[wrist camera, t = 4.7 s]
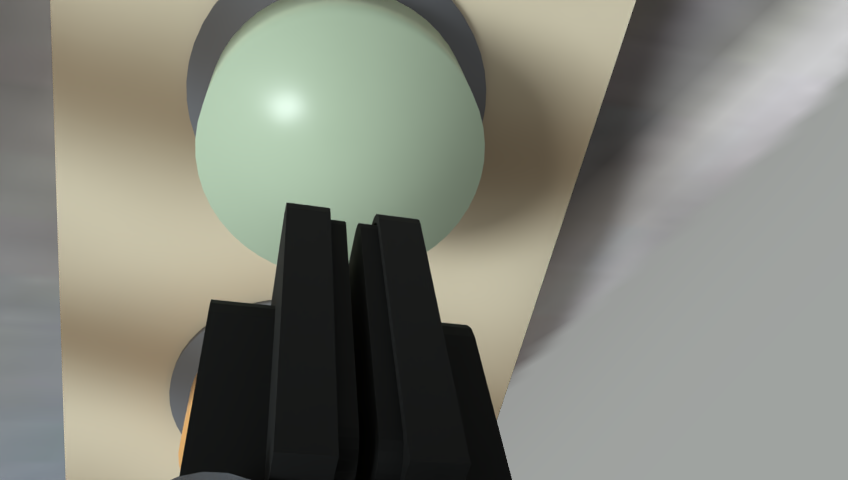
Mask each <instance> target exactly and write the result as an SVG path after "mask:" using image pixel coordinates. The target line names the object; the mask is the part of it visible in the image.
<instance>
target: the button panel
mask: <svg viewBox="0 0 848 480" xmlns="http://www.w3.org/2000/svg"><path fill="white" fill-rule="evenodd" d="M276 1H278V0H50V7H51V38H52V69H53V100H54V131H55V162H56V193H57V224H58V255H59V286H60V317H61V347H62V378H63V409H64V440H65V471H66V480H172V479H174V478H176V477H179V475H180V467H179V457H178V452H179V446H180V440H181V435H182V430H183V425H184V420H185V415H186V411H187V406H188V401H189V396H190V391H191V387H192V384H193V381H194V378H195V376H196V374H197V372H198V367H199V361H200V356H201V350H202V344H203V339H204V333H205V327H206V322H207V316H208V311H209V305H210V301H211V299H212V300H222V301H232V302H242V303H252V304H262V305H271V300H272V294H273V287H274V280H275V273H276V266H277V265H275V264H273V263H271V262H269V261H268V260H266V259H264V258H262V257H260V256H258V255H257V254H256V253H254V252H253V251H251V250H250V249H248V248H247V247H246V246H244V245H243V244H242V243H241V242H240V241H239V240H238V239H236V238H235V237H234V236H233V235H232V234H231V233H230V232H229V231H228V229H227V228H226V227H225V226H224V225H223V224H222V222H221V221H220V220H219V218H218V217H217V215H216V214H215V212H214V211H213V209H212V207H211V206H210V204H209V202H208V199H207V197H206V195H205V193H204V191H203V188H202V185H201V181H200V178H199V175H198V170H197V163H196V157H195V138H196V130H197V123H198V119H199V116H200V112H201V109H202V105H203V102H204V99H205V96H206V93H207V90H208V87H209V84H210V81H211V78H212V75H213V72H214V69H215V67H216V64H217V62H218V60H219V58H220V56H221V54H222V52H223V50H224V49H225V47H226V46H227V44H228V42H229V41H230V39H231V38H232V37H233V36H234V34H235V33H236V32H237V31H238V30H239V29H240V28H241V27H242V25H243V24H244V23H246V22H247V21H248V20H249V19H250V18H252V17H253V16H254V15H255V14H256V13H258V12H259V11H261V10H262V9H264V8H266V7H267V6H269V5H270V4H272V3H274V2H276ZM396 1H398V2H400V3H402V4H404V5H405V6H407V7H409V8H411V9H412V10H414V11H415V12H416V13H418V14H419V15H420V16H422V17H423V18H424V19H426V20H427V21H428V22H429V23H430V24H431V25H432V26H433V27H434V28H435V29H436V30H437V31H438V32H439V33H440V35H441V36H442V37H443V39H444V40H445V41H446V42H447V44H448V45H449V47H450V48H451V50H452V52H453V54H454V55H455V57H456V59H457V61H458V63H459V65H460V67H461V70H462V72H463V74H464V76H465V78H466V80H467V83H468V85H469V87H470V89H471V91H472V94H473V96H474V98H475V101H476V104H477V106H478V109H479V111H480V116H481V120H482V124H483V129H484V140H485V153H484V164H483V170H482V175H481V179H480V182H479V185H478V188H477V191H476V194H475V196H474V198H473V200H472V202H471V204H470V206H469V208H468V209H467V211H466V212H465V214H464V215H463V217H462V218H461V220H460V221H459V223H458V224H457V225H456V226H455V227H454V228H453V230H452V231H451V232H450V233H449V234H448V235H447V236H446V237H445V238H444V239H443V240H442V241H440V242H439V243H438V244H437V245H436V246H435V247H433V248H432V249H430V250H429V251H428V252H427V256H428V261H429V266H430V271H431V275H432V280H433V285H434V290H435V295H436V299H437V304H438V309H439V314H440V318H441V322H442V323H452V324H462V325H468V326H469V327H470V328H472V331H473V333H474V336H475V339H476V343H477V347H478V351H479V354H480V358H481V362H482V366H483V370H484V374H485V378H486V381H487V385H488V389H489V393H490V397H491V401H492V405H493V409H494V412H495V416H496V420H497V418H498V415H499V412H500V409H501V406H502V403H503V399H504V396H505V394H506V391H507V388H508V385H509V382H510V379H511V376H512V373H513V370H514V367H515V364H516V361H517V358H518V355H519V352H520V349H521V346H522V343H523V340H524V337H525V334H526V331H527V327H528V324H529V321H530V318H531V315H532V312H533V309H534V306H535V303H536V300H537V297H538V294H539V291H540V288H541V285H542V282H543V279H544V276H545V273H546V270H547V267H548V264H549V261H550V258H551V255H552V252H553V249H554V246H555V243H556V240H557V237H558V234H559V231H560V228H561V225H562V222H563V219H564V216H565V213H566V210H567V207H568V204H569V201H570V198H571V195H572V192H573V189H574V186H575V183H576V180H577V177H578V174H579V171H580V168H581V165H582V162H583V159H584V156H585V153H586V150H587V147H588V144H589V141H590V138H591V135H592V132H593V129H594V126H595V123H596V120H597V117H598V114H599V110H600V107H601V104H602V101H603V98H604V95H605V92H606V89H607V86H608V83H609V80H610V77H611V74H612V71H613V68H614V65H615V62H616V59H617V56H618V53H619V50H620V47H621V44H622V41H623V38H624V35H625V32H626V29H627V26H628V23H629V20H630V17H631V14H632V11H633V8H634V5H635V2H636V0H396Z"/></svg>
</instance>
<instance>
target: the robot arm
mask: <svg viewBox="0 0 848 480" xmlns="http://www.w3.org/2000/svg"><path fill="white" fill-rule="evenodd" d="M172 480H512V478H511V474H510V471H509V467H508V463H507V459H506V455H505V451H504V447H503V443H502V439H501V436H500V432H499V428H498V425H497V420H496V416H495V412H494V409H493V405H492V401H491V397H490V393H489V389H488V385H487V381H486V378H485V374H484V370H483V366H482V362H481V358H480V354H479V351H478V347H477V343H476V339H475V336H474V333H473V331H472V328H470V327H469V326H468V325H462V324H452V323H442V322H441V318H440V314H439V309H438V304H437V299H436V295H435V290H434V285H433V280H432V275H431V271H430V266H429V261H428V256H427V252H426V247H425V242H424V237H423V233H422V228H421V223H420V221H419V220H418V219H412V218H405V217H397V216H389V215H381V214H376V215H375V217H374V219H373V222H372V225H371V224H363V223H358V225H357V228H356V231H355V236H354V240H353V245H352V250H351V255H350V260H348V245H347V229H346V222H345V221H339V220H331V211H330V208H327V207H319V206H311V205H303V204H295V203H288V202H287V203H286V207H285V212H284V219H283V226H282V232H281V239H280V246H279V253H278V260H277V266H276V273H275V280H274V287H273V294H272V300H271V305H262V304H252V303H242V302H232V301H222V300H212V299H211V301H210V305H209V311H208V316H207V322H206V327H205V333H204V339H203V344H202V350H201V356H200V361H199V367H198V373H197V378H196V384H195V390H194V395H193V401H192V407H191V412H190V418H189V424H188V429H187V435H186V441H185V446H184V452H183V458H182V463H181V469H180V475H179V477H176V478H174V479H172Z"/></svg>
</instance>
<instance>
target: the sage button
mask: <svg viewBox="0 0 848 480" xmlns="http://www.w3.org/2000/svg"><path fill="white" fill-rule="evenodd" d="M484 153H485V140H484V129H483V124H482V120H481V116H480V111H479V109H478V106H477V104H476V101H475V98H474V96H473V94H472V91H471V89H470V87H469V85H468V83H467V80H466V78H465V76H464V74H463V72H462V70H461V67H460V65H459V63H458V61H457V59H456V57H455V55H454V54H453V52H452V50H451V48H450V47H449V45H448V44H447V42H446V41H445V40H444V39H443V37H442V36H441V35H440V33H439V32H438V31H437V30H436V29H435V28H434V27H433V26H432V25H431V24H430V23H429V22H428V21H427V20H426V19H424V18H423V17H422V16H420V15H419V14H418V13H416V12H415V11H414V10H412V9H411V8H409V7H407V6H405V5H404V4H402V3H400V2H398V1H396V0H278V1H276V2H274V3H272V4H270V5H269V6H267V7H266V8H264V9H262V10H261V11H259V12H258V13H256V14H255V15H254V16H253V17H252V18H250V19H249V20H248V21H247V22H246V23H244V24H243V25H242V27H241V28H240V29H239V30H238V31H237V32H236V33H235V34H234V36H233V37H232V38H231V39H230V41H229V42H228V44H227V46H226V47H225V49H224V50H223V52H222V54H221V56H220V58H219V60H218V62H217V64H216V67H215V69H214V72H213V75H212V78H211V81H210V84H209V87H208V90H207V93H206V96H205V99H204V102H203V105H202V109H201V112H200V116H199V119H198V123H197V130H196V138H195V157H196V163H197V170H198V175H199V178H200V181H201V185H202V188H203V191H204V193H205V195H206V197H207V199H208V202H209V204H210V206H211V207H212V209H213V211H214V212H215V214H216V215H217V217H218V218H219V220H220V221H221V222H222V224H223V225H224V226H225V227H226V228H227V229H228V231H229V232H230V233H231V234H232V235H233V236H234V237H235V238H236V239H238V240H239V241H240V242H241V243H242V244H243V245H244V246H246V247H247V248H248V249H250V250H251V251H253V252H254V253H256V254H257V255H258V256H260V257H262V258H264V259H266V260H268V261H269V262H271V263H273V264H275V265H277V260H278V253H279V246H280V239H281V232H282V226H283V219H284V212H285V207H286V203H287V202H288V203H295V204H303V205H311V206H319V207H327V208H330V211H331V220H339V221H345V222H346V229H347V245H348V260H350V255H351V250H352V245H353V240H354V236H355V231H356V228H357V225H358V223H363V224H371V225H372V222H373V219H374V217H375V215H376V214H381V215H389V216H397V217H405V218H412V219H418V220H419V221H420V223H421V228H422V233H423V237H424V242H425V247H426V252H428V251H429V250H430V249H432V248H433V247H435V246H436V245H437V244H438V243H439V242H440V241H442V240H443V239H444V238H445V237H446V236H447V235H448V234H449V233H450V232H451V231H452V230H453V228H454V227H455V226H456V225H457V224H458V223H459V221H460V220H461V218H462V217H463V215H464V214H465V212H466V211H467V209H468V208H469V206H470V204H471V202H472V200H473V198H474V196H475V194H476V191H477V188H478V185H479V182H480V179H481V175H482V170H483V164H484Z"/></svg>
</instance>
